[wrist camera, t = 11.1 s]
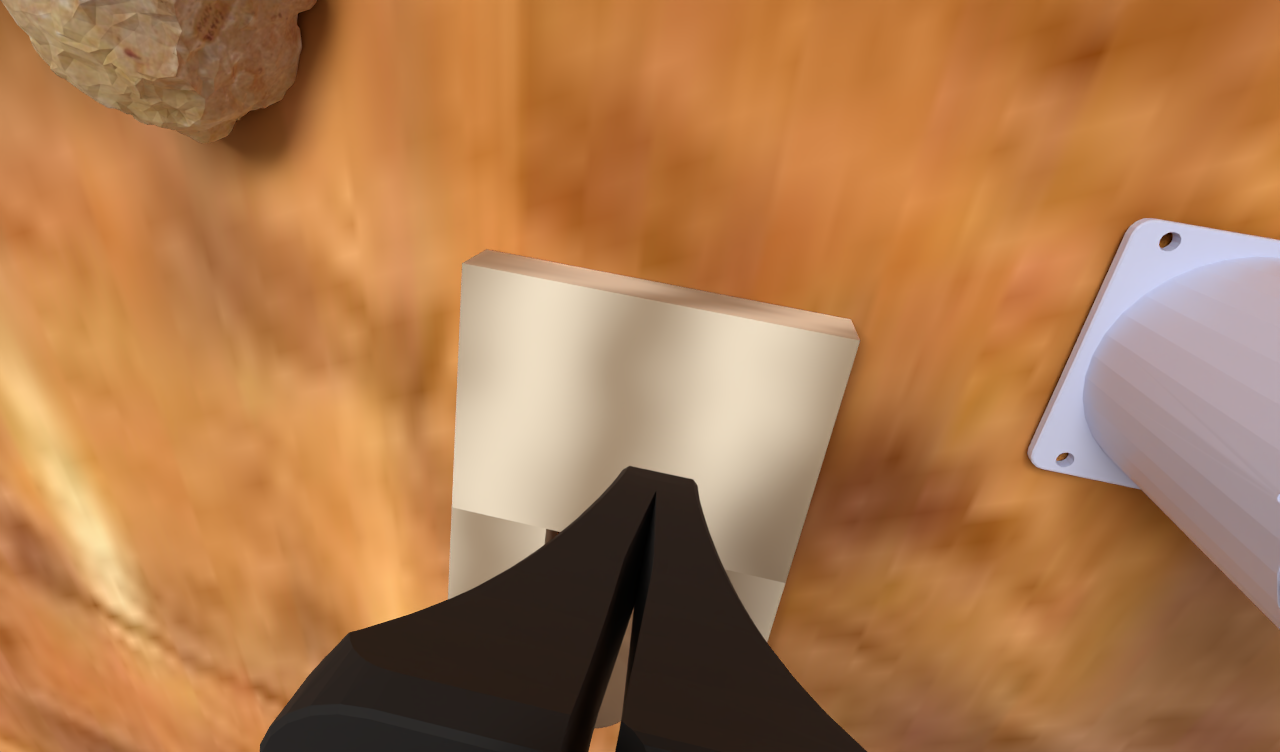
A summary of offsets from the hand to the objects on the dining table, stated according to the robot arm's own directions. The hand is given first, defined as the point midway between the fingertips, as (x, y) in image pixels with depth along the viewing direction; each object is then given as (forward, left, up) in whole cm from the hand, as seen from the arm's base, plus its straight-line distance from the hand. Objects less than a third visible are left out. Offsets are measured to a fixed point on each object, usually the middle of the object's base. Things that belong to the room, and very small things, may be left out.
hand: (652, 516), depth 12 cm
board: (+1, +6, -10) cm, 12 cm away
